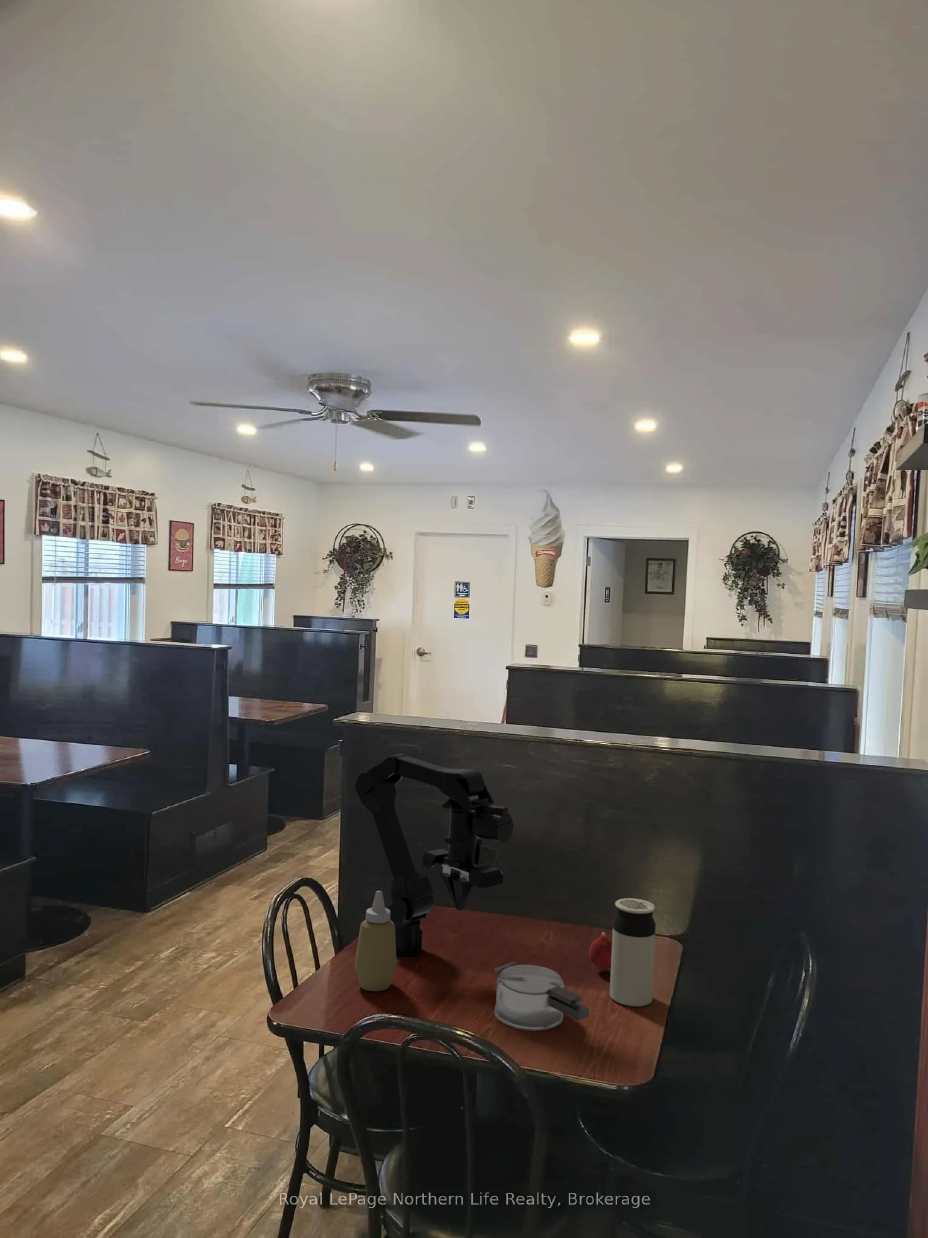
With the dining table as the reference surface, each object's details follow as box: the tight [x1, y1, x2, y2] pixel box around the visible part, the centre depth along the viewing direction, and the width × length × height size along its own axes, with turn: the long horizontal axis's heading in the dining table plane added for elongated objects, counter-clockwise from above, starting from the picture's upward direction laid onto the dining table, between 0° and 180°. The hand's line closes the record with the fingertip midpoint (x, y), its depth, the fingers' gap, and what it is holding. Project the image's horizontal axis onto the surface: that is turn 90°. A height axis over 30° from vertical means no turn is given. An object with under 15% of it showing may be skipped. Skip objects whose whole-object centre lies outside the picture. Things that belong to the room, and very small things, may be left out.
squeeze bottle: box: [354, 890, 398, 992], centre depth 163 cm, size 8×8×18 cm
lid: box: [493, 961, 582, 1005], centre depth 152 cm, size 18×11×1 cm, turn 42°
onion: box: [588, 931, 612, 973], centre depth 174 cm, size 6×6×8 cm
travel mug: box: [609, 897, 657, 1008], centre depth 162 cm, size 8×8×18 cm
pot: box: [494, 973, 590, 1032], centre depth 151 cm, size 19×12×6 cm, turn 42°
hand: (459, 910), depth 172 cm, fingers closed
